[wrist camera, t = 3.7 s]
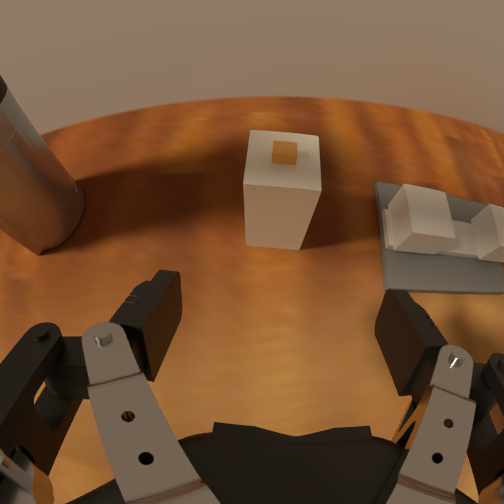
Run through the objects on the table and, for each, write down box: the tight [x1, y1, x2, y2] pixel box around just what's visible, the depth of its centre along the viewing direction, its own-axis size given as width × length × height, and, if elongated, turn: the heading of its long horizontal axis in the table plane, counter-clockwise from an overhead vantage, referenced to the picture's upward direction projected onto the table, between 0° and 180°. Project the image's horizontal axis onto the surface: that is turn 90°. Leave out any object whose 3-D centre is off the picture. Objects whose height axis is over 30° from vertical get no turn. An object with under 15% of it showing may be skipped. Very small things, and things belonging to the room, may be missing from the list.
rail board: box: [374, 181, 504, 294], centre depth 25 cm, size 18×12×6 cm, turn 85°
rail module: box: [243, 130, 321, 250], centre depth 23 cm, size 5×5×11 cm
